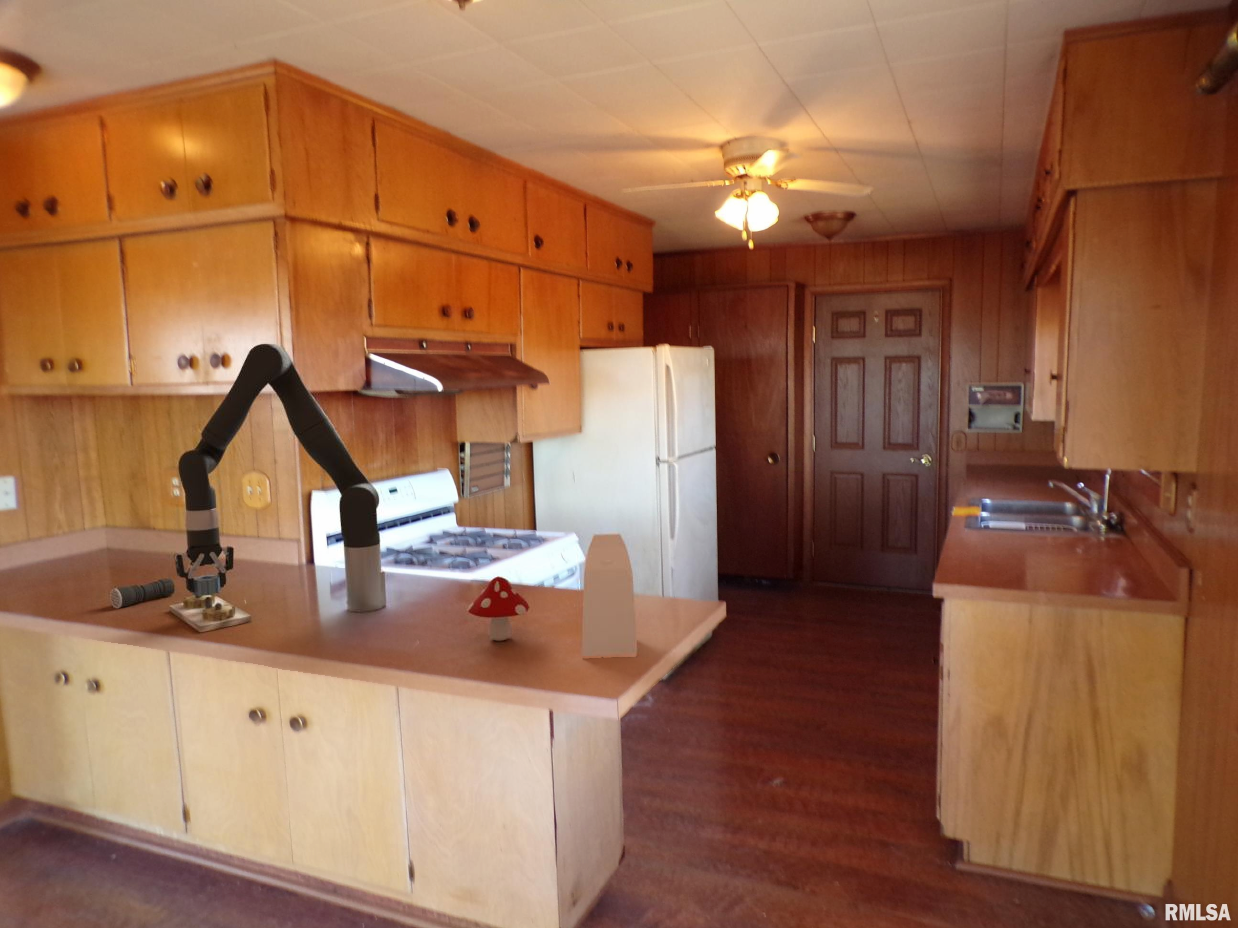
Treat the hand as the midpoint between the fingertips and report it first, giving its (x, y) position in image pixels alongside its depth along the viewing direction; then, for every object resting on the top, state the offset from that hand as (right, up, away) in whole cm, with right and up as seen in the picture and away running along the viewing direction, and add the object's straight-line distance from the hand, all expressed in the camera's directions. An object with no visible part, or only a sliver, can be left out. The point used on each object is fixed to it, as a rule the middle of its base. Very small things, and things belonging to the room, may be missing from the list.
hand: (206, 589), depth 212 cm
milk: (+105, -9, -30) cm, 109 cm away
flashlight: (-26, -6, +16) cm, 31 cm away
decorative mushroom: (+80, -9, -22) cm, 83 cm away
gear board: (0, -7, +1) cm, 7 cm away
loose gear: (0, -1, 0) cm, 1 cm away
